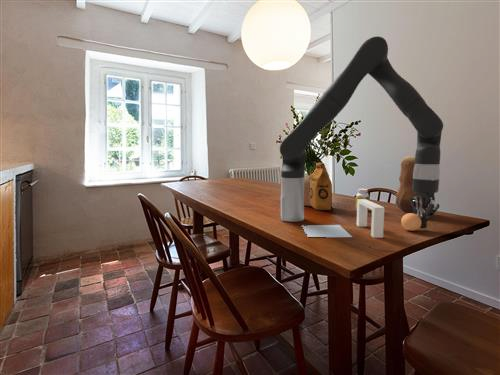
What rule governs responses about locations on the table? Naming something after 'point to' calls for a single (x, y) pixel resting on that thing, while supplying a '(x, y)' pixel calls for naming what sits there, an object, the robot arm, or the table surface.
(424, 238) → the table surface
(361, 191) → the supplement bottle
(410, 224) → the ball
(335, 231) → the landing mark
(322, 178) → the coffee package
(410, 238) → the table surface
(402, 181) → the butternut squash
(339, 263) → the table surface
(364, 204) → the bridge
